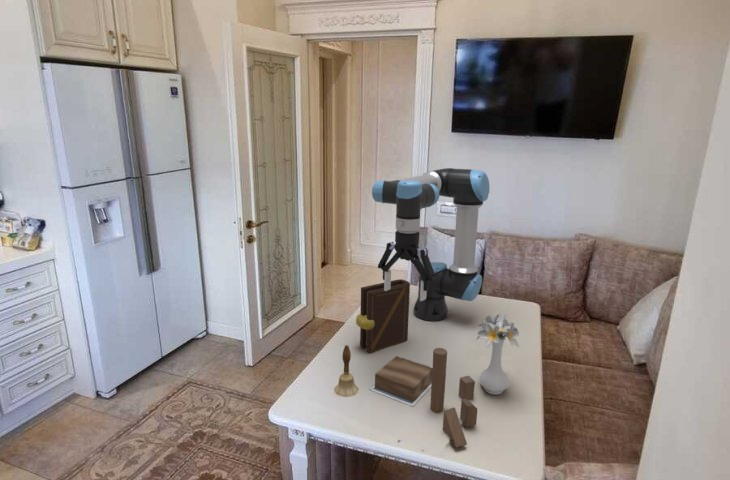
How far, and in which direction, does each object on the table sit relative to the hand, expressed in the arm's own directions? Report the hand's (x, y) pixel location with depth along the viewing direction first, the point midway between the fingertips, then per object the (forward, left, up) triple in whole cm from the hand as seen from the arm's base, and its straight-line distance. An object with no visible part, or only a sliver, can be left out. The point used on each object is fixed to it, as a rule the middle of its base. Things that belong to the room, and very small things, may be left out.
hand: (404, 294), depth 145 cm
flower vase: (-12, +27, -30) cm, 43 cm away
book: (-15, -17, -30) cm, 38 cm away
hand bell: (+17, -11, -31) cm, 37 cm away
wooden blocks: (+9, +25, -31) cm, 41 cm away
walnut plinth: (+4, +3, -30) cm, 31 cm away
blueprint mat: (+4, +3, -30) cm, 31 cm away
